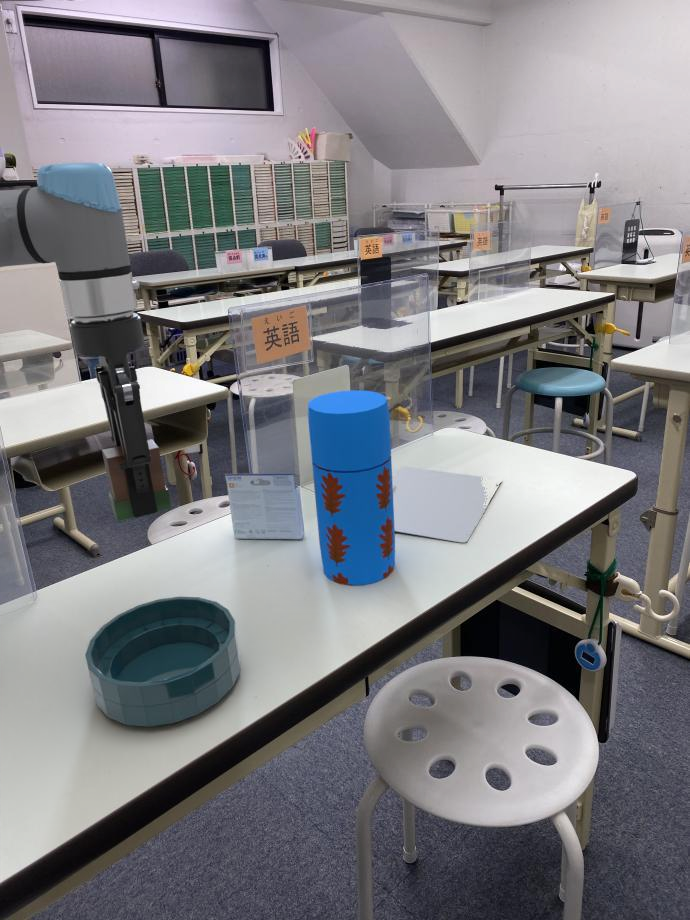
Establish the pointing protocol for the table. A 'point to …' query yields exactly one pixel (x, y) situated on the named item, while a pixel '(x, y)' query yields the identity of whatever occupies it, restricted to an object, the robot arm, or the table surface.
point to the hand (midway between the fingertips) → (141, 507)
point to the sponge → (119, 482)
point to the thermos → (353, 485)
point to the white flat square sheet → (437, 503)
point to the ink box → (265, 506)
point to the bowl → (164, 660)
